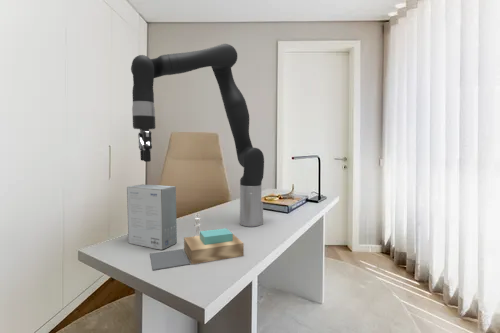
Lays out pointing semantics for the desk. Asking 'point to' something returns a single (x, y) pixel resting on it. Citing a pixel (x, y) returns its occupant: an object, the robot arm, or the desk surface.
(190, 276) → the desk surface
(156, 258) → the mat
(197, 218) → the chess piece
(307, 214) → the desk surface
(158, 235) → the hard drive box
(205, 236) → the block
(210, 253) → the tan wooden flat box
